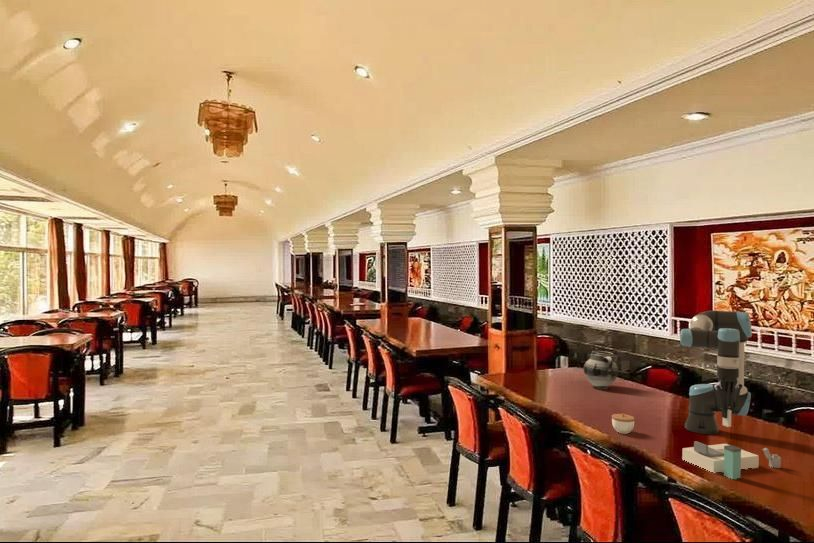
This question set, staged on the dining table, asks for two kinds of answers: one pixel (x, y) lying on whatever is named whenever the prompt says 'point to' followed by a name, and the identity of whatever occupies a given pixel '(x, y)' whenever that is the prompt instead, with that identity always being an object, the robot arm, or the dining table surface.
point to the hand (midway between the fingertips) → (726, 425)
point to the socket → (718, 459)
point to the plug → (732, 461)
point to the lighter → (772, 459)
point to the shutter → (706, 450)
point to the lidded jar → (623, 423)
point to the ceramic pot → (601, 369)
